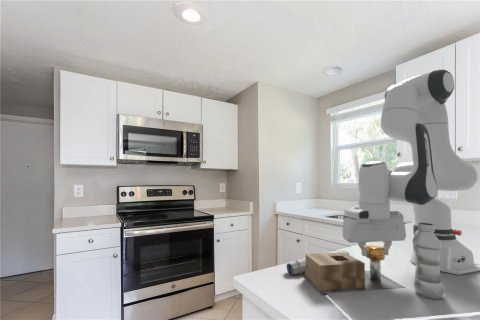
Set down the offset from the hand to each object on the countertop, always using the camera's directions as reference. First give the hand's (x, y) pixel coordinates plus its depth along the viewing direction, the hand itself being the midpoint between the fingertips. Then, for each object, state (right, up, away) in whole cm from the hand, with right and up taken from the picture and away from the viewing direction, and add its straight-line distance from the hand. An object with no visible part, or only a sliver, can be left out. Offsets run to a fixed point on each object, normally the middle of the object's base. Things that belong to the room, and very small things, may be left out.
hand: (374, 255), depth 79 cm
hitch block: (-8, -8, -2) cm, 12 cm away
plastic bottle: (+9, -8, -10) cm, 16 cm away
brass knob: (0, -7, 0) cm, 7 cm away
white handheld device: (-15, -9, +8) cm, 19 cm away
